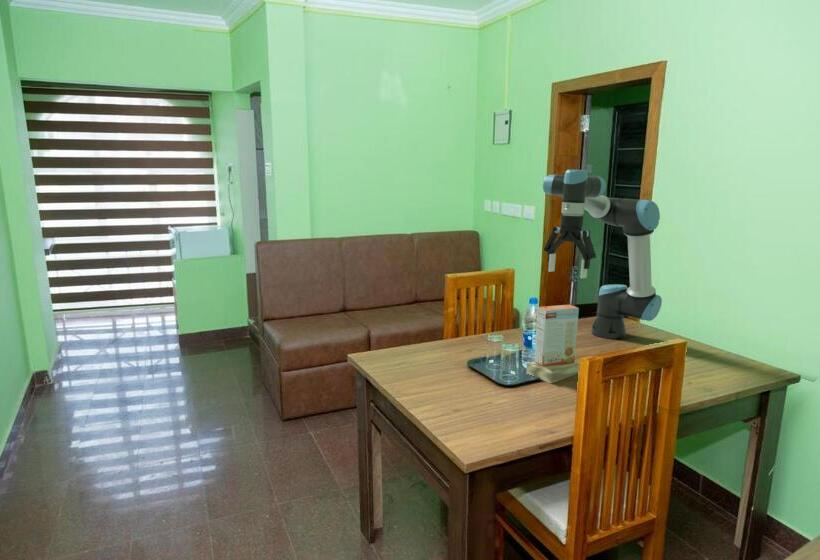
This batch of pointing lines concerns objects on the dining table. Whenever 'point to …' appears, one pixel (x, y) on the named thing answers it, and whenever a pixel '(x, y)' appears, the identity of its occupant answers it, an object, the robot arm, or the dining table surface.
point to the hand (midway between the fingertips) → (566, 274)
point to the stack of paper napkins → (552, 371)
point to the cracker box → (556, 335)
